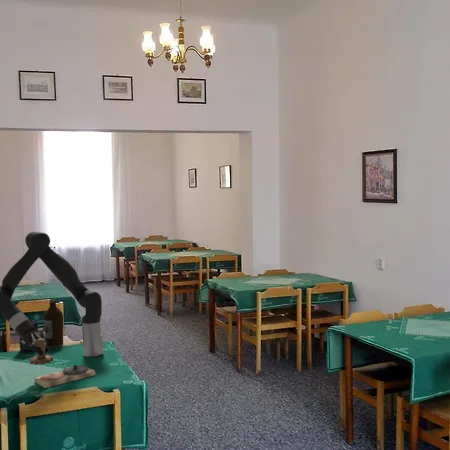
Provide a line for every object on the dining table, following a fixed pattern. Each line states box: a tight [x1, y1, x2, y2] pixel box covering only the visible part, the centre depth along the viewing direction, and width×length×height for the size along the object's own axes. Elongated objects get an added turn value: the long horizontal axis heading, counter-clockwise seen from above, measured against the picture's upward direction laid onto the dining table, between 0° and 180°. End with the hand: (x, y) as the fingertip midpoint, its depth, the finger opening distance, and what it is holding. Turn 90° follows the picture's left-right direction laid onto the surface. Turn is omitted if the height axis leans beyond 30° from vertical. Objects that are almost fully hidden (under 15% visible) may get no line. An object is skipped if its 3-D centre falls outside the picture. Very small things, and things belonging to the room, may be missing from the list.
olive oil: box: [42, 298, 64, 347], centre depth 308 cm, size 11×11×25 cm
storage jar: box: [19, 320, 39, 354], centre depth 297 cm, size 10×10×15 cm
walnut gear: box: [29, 339, 54, 366], centre depth 246 cm, size 10×10×10 cm
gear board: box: [34, 364, 96, 389], centre depth 249 cm, size 24×11×5 cm, turn 132°
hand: (45, 353), depth 245 cm, fingers closed on walnut gear, 3 cm apart
